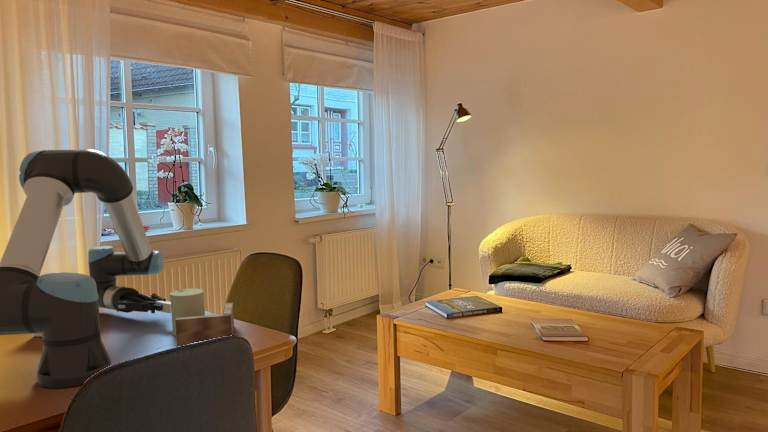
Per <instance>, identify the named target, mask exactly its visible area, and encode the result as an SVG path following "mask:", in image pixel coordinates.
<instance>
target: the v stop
mask: <svg viewBox="0 0 768 432" xmlns="http://www.w3.org/2000/svg"><path fill="white" fill-rule="evenodd" d="M175 322H176V336H175V338H176V347H178V346H180V345H181V346H186V345H185V344H190V343H194V342H199V341H204V340H209V339H213V338H218V337H223V336H230V335H233V336H234V329H235V323H234V322H235V319H234V304H233V302H226V303H225V305H224V309H223V313H220V314H219V313H218V314H207V315H206V314H205V316H192V317H179V318H176V319H175Z"/></svg>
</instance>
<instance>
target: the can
mask: <svg viewBox="0 0 768 432" xmlns="http://www.w3.org/2000/svg"><path fill="white" fill-rule="evenodd" d="M169 297H170V302H171V311H172V313H171V324H172V327H171V328H172V332H171V333H172V334H171V335H172V336H174V337H176V322H175V319H176V318H179V317H192V316H205V315H206V311H205V310H206V309H205V307H206V306H205V290H204V289H203V288H197V287H196V288H193V287H191V288H190V287H189V288H183V289H182V288H181V289H178V290H177V289H176V290H173V291H172V292H170V293H169Z"/></svg>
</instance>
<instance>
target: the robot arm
mask: <svg viewBox="0 0 768 432" xmlns="http://www.w3.org/2000/svg"><path fill="white" fill-rule="evenodd" d="M19 173H20V174H18V179H19V184H20V186H21V189H22V190H23V192H24V194H25V196H26V198H25V200H24V203H23V204H22V207H21V209H20V212H19V215H18V216H17V220H16V221H15V225H14V227H13V229H12V231H11V235H10V236H9V239H8V241H7V244H6V247H5V249H4V251H3V254H2V257H1V258H0V336H9V335H12V336H13V335H30V334H32V335H33V333H42V337H41V338H42V351H41V355H40V359H39V361H38V366H37V370H36V374H35V375H36V383H37V385H38V386H40V387H42V388H48V389H63V388H65V389H66V388H72V387H77V386H83V385H84V384H83V383H84V382H85V381H86V380H87V379H88V378H90V377H91V376H92V375H94V374H95V373H97V372H99V371H100V370H102V369H104V368H106V367H108V366H110V365H111V366H112V360H111V358H110V356H109V353H108V351H107V348H106V347H105V345H104V342H103V340H102V335H101V323H100V309H101V308H102V309H107V310H113V311H116V312H117V313H119V312H121V313H127V314H128V313H132V312H138V313H139V312H140V313H141V312H143V313H147V312H149V311H150V312H151V313H150V314H155V313H156V312H161V313H167V314H172V311H171V301H167V298H165V297H163V296H161V295H158V294H156V293H152V294H150V295H149V296H148V295H146V294H143V293H140V292H139V291H138V290H137V289H135V288H133V287H127V286H121V285H117V277H125V276H126V277H127V276H130V277H131V276H150V275H151V276H152V275H158V274H161V273H162V271H163V269H164V255H163V253H162V252H161V251H159V250H152V247H151V244H150V242H149V239H148V236H147V234H146V231H145V228H144V225H143V221H142V219H141V216H140V214H139V211H138V209H137V206H136V201H135V200H134V197H133V195H132V194H133V191H134V186H133V183H132V181H131V179H130V175H128V173H127V172H126V170H125V169H124V168H123V166H122V165H120V164H119V163H118V162H117V161H116V160H115V159H113V158H112V157H110V156H109V155H107V154H105V153H104V152H102V151H100V150H96V149H91V148H90V149H89V148H88V149H86V148H85V149H84V148H83V149H42V150H35V151H31V152H29V153H28V154H27V155H25V157H23V159H22V161H21V163H20V165H19ZM81 193H82V194H84V193H85V194H86V193H87V194H88V193H92V194H95V195H96V197H97V199H98V200H99V201H100V202H101V203H103V204H104V206H105V209H106V211H107V214H109V217H110V220H111V222H112V223H111V224H113V227H114V230H115V232H116V235H117V236H118V239H119V241H120V244H121V245H122V248H123V251H117V252H116V251H115V248H114V247H113V246H111V245H101V246H93V247H91V248H89V250H88V252H87V253H88V255H87V258H88V261H87V264H88V273H89V274H84V273H78V272H65V271H64V272H50V273H44V274H41V272H42V269H43V266H44V263H45V261H46V257H47V254H48V251H49V249H50V245H51V243H52V240H53V237H54V235H55V231H56V229H57V226H58V222H59V220H60V217H61V215H62V211H63V208H64V207H67V206H68V205H70V204H71V203H72V201H73V199H74V196H75V194H81ZM40 274H41V275H40ZM82 384H83V385H82Z"/></svg>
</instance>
